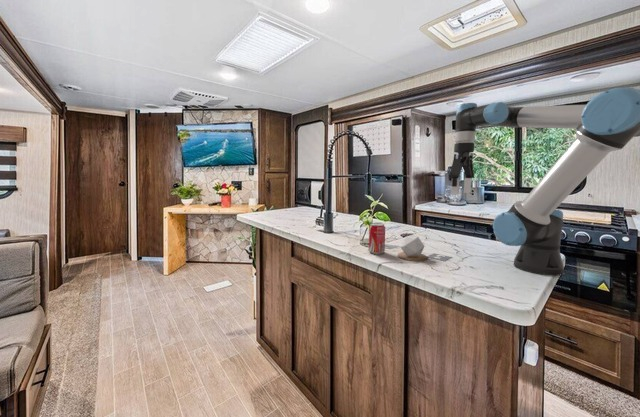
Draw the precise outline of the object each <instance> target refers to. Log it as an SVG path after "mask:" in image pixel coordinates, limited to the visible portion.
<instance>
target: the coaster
mask: <svg viewBox="0 0 640 417" xmlns="http://www.w3.org/2000/svg"><path fill="white" fill-rule="evenodd" d="M427 256H428V255H425V254H423V253H421V255H420V257H407V256H406V255H405V253H404V252H403V251H402V252H401V251H400V252H398V253H397V258H399V259H401V260H404V261H410V262H423V261H427V259H428V258H427Z"/></svg>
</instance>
